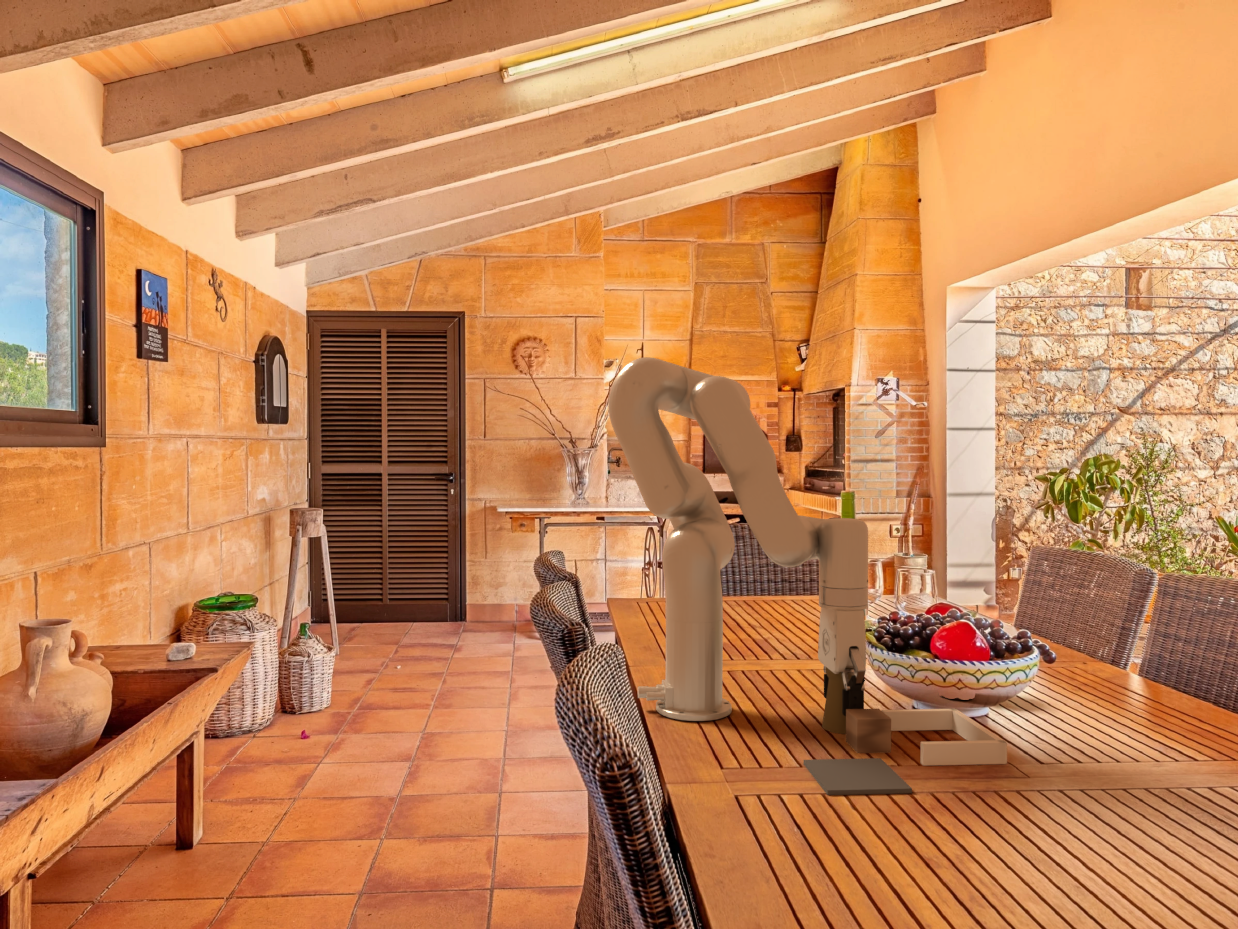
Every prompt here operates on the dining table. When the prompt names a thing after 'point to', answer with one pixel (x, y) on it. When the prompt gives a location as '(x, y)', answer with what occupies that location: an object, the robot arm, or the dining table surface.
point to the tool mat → (856, 776)
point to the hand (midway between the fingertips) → (843, 706)
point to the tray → (973, 751)
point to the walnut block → (868, 730)
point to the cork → (834, 704)
